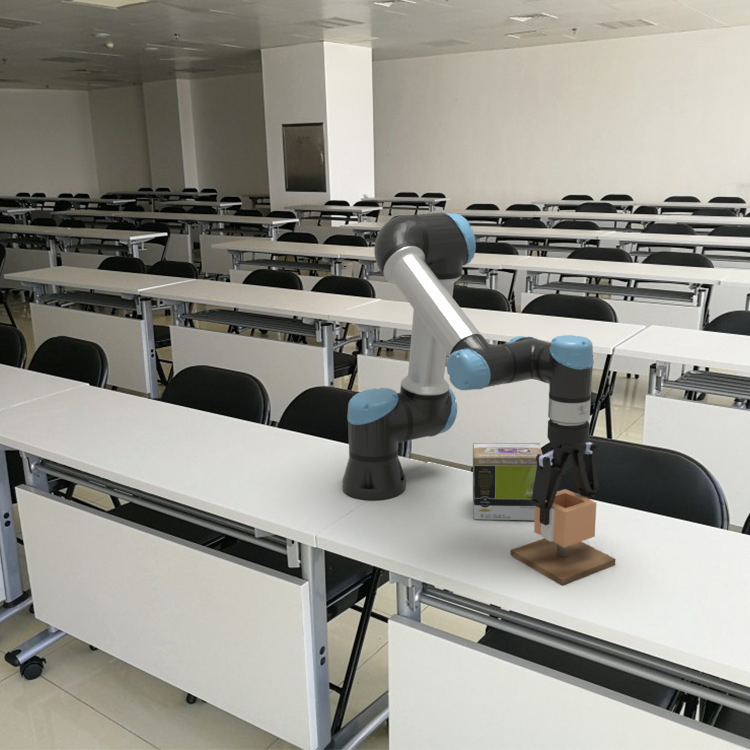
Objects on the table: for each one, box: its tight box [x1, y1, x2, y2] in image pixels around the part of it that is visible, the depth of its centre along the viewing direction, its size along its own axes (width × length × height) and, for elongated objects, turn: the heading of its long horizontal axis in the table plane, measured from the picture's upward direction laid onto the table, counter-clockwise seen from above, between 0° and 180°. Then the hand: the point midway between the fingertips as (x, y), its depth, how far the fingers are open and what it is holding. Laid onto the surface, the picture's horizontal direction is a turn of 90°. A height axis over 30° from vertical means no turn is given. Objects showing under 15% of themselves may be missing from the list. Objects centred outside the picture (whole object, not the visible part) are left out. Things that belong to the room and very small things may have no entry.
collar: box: [533, 488, 597, 547], centre depth 152 cm, size 8×8×7 cm
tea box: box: [472, 442, 544, 521], centre depth 175 cm, size 15×10×15 cm
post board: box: [510, 538, 616, 586], centre depth 154 cm, size 14×14×8 cm
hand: (563, 532), depth 153 cm, fingers closed on collar, 8 cm apart
